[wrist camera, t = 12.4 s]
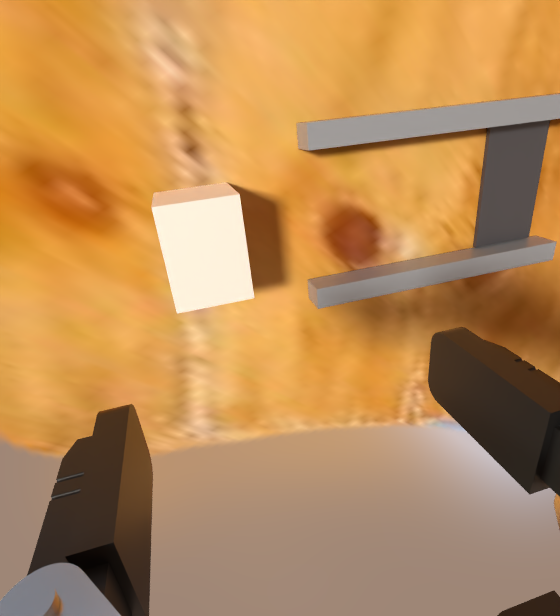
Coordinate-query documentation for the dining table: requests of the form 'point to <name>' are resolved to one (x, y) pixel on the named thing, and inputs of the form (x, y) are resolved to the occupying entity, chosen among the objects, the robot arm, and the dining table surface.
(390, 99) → the dining table surface
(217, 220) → the block
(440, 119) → the channel
